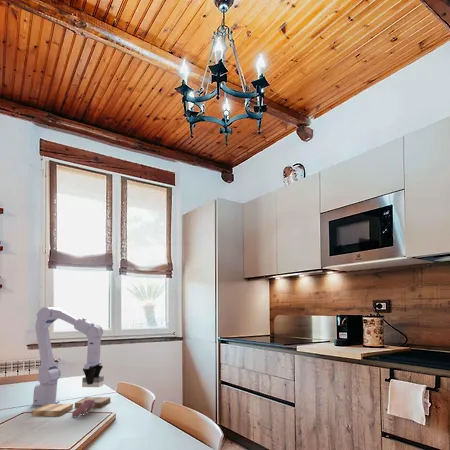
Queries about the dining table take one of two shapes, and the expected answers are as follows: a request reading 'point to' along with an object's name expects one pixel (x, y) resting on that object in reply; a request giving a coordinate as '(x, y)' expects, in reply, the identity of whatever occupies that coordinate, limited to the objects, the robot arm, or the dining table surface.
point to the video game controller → (84, 407)
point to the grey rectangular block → (97, 382)
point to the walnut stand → (98, 401)
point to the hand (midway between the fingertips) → (92, 383)
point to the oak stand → (52, 409)
